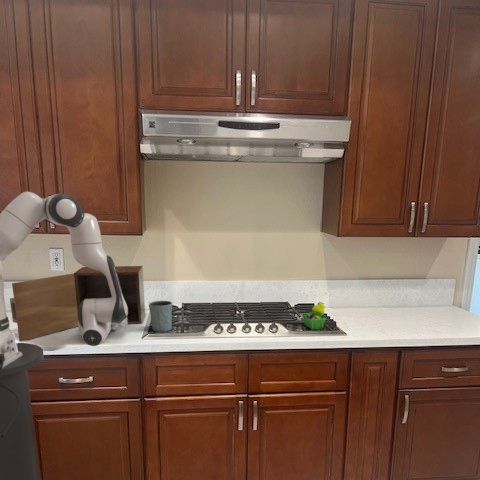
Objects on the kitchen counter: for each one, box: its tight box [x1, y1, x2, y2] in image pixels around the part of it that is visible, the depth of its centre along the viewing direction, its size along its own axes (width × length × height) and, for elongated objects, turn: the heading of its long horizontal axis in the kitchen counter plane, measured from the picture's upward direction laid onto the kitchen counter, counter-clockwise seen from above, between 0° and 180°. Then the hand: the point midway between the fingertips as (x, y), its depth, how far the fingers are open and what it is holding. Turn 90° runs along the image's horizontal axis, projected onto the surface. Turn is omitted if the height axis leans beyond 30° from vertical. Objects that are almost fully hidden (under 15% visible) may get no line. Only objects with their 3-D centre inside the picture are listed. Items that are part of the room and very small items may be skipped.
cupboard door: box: [9, 273, 78, 343], centre depth 200 cm, size 7×28×24 cm, turn 146°
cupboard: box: [73, 265, 146, 325], centre depth 220 cm, size 18×28×24 cm, turn 96°
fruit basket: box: [301, 301, 327, 331], centre depth 210 cm, size 11×9×11 cm
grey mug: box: [148, 300, 173, 333], centre depth 206 cm, size 10×10×12 cm
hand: (105, 318), depth 204 cm, fingers closed on cup, 7 cm apart
